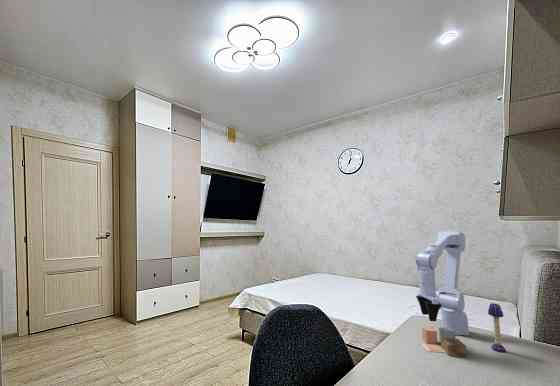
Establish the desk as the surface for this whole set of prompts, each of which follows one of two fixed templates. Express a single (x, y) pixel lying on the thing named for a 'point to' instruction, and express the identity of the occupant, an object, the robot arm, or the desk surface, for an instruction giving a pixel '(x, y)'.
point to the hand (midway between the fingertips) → (428, 317)
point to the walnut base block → (453, 347)
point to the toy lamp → (496, 326)
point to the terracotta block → (429, 335)
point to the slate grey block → (446, 333)
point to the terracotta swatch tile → (433, 348)
